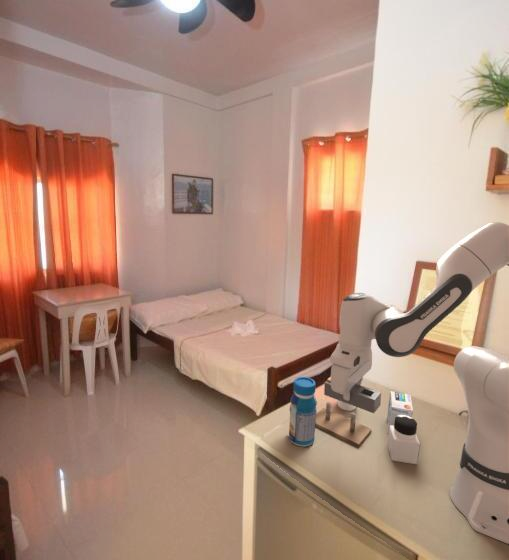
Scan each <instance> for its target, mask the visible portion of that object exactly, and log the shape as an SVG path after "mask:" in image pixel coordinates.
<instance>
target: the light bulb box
mask: <svg viewBox="0 0 509 560" xmlns="http://www.w3.org/2000/svg"><path fill="white" fill-rule="evenodd" d="M413 414H414V407H413V402H412V396H411V394H408V393H403V392H398V391H391V390H390V392H389V398H388V409H387V416H386V428H387V429H386V430H387V432H386V433H387V436H388V435H389V427H390V425H392V426H394V422H395V417H396V416H398V415H406V416H409V417H411V418H413Z"/></svg>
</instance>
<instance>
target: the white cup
mask: <svg viewBox="0 0 509 560" xmlns="http://www.w3.org/2000/svg"><path fill="white" fill-rule="evenodd" d="M336 404H337V406H338V407H339V408H340V409H341V410H344V411H349V412H350V411H354V410H356V408H357V407H355V406H353V405H350V404H347V403H345V402H342V401H339V400H337V403H336Z"/></svg>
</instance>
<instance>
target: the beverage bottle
mask: <svg viewBox="0 0 509 560" xmlns="http://www.w3.org/2000/svg"><path fill="white" fill-rule="evenodd" d="M316 386H317V385H316V381H315V380H314V379H313V378H311V377H308V376H298V377H296V378H295V379H294V380H293V388H292V389H293V393H292V395H291V397H290V405H289V426H288V427H289V428H288V439H289V441H290V442H291V443H292V444H294V445H296V446H298V447H308V446H311V445H312V444H314V442H315V437H316V436H315V431H316V427H315V422H316V414H317V413H318V409H317V404H318V402H317V398H316V396H315V393H316Z"/></svg>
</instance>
